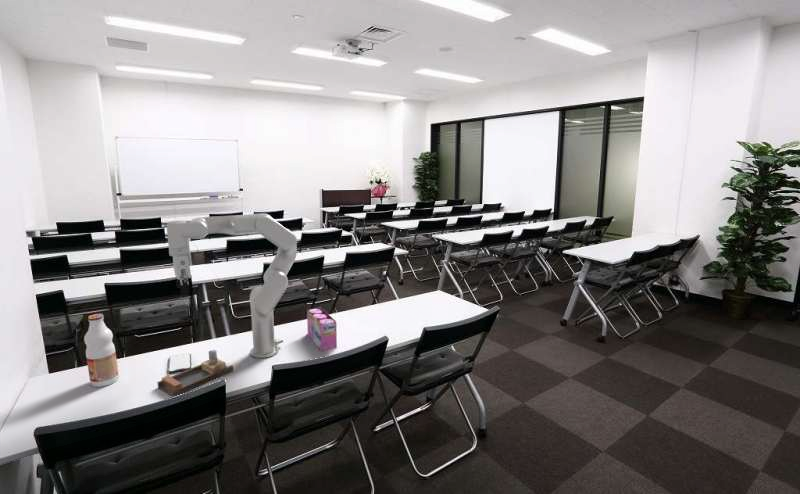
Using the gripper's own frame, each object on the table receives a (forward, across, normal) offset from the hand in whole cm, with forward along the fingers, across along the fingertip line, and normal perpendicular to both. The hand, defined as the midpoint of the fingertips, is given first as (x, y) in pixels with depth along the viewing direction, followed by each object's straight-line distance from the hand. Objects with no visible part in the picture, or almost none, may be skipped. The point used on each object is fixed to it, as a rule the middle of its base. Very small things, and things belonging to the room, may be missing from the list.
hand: (183, 290), depth 174 cm
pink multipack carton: (+34, -10, -58) cm, 68 cm away
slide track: (+34, -14, 0) cm, 37 cm away
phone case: (+35, +3, +4) cm, 35 cm away
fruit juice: (+34, +5, +30) cm, 46 cm away
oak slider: (+33, -12, -7) cm, 36 cm away
